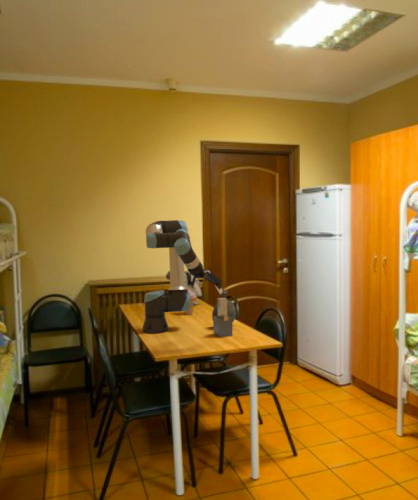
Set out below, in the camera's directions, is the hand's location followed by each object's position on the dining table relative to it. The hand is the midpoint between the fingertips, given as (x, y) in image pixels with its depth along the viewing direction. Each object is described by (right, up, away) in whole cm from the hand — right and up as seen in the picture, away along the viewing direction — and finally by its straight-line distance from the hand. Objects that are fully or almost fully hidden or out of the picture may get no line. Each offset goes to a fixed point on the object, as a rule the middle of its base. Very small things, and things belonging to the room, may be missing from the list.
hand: (210, 292), depth 238 cm
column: (+7, -24, +8) cm, 26 cm away
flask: (+8, -24, +28) cm, 38 cm away
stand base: (+7, -25, +8) cm, 27 cm away
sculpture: (-20, -20, +108) cm, 112 cm away
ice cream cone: (-15, -22, +72) cm, 76 cm away
